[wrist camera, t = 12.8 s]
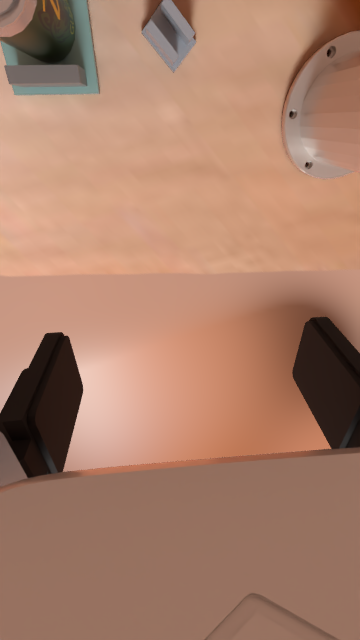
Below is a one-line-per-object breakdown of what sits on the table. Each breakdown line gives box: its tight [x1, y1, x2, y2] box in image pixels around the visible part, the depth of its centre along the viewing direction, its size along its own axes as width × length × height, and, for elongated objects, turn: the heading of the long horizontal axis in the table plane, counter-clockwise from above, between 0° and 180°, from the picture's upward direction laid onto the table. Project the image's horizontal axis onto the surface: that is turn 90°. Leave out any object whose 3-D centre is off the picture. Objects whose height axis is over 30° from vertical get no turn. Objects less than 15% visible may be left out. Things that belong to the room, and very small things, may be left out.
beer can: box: [0, 0, 76, 63], centre depth 21 cm, size 5×5×12 cm
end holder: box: [1, 0, 100, 95], centre depth 25 cm, size 8×10×4 cm
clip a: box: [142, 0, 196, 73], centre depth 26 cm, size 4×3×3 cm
